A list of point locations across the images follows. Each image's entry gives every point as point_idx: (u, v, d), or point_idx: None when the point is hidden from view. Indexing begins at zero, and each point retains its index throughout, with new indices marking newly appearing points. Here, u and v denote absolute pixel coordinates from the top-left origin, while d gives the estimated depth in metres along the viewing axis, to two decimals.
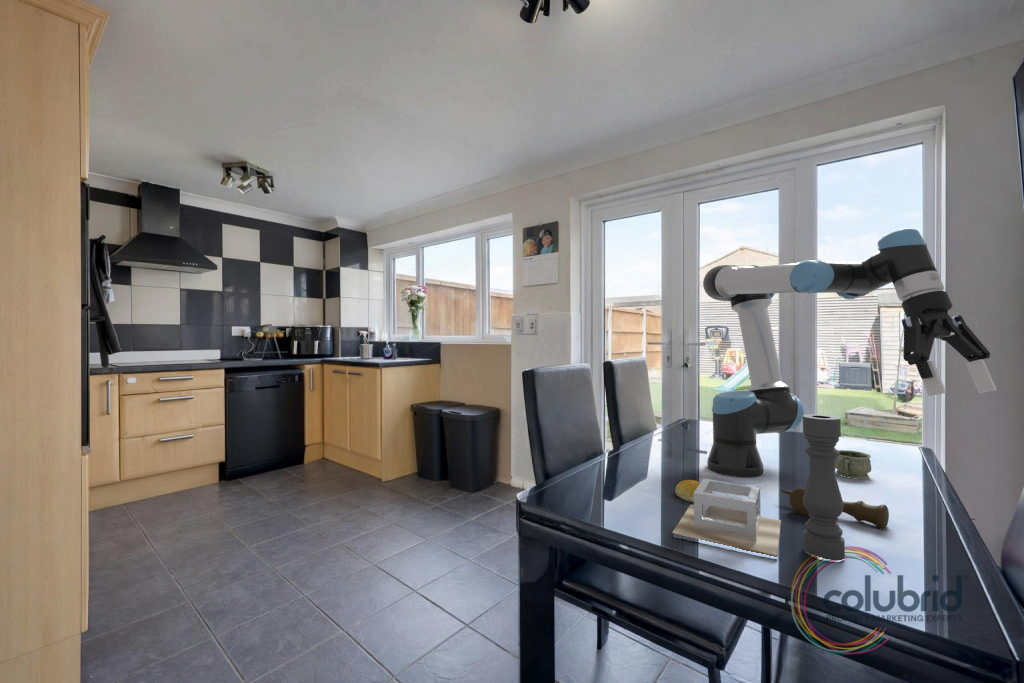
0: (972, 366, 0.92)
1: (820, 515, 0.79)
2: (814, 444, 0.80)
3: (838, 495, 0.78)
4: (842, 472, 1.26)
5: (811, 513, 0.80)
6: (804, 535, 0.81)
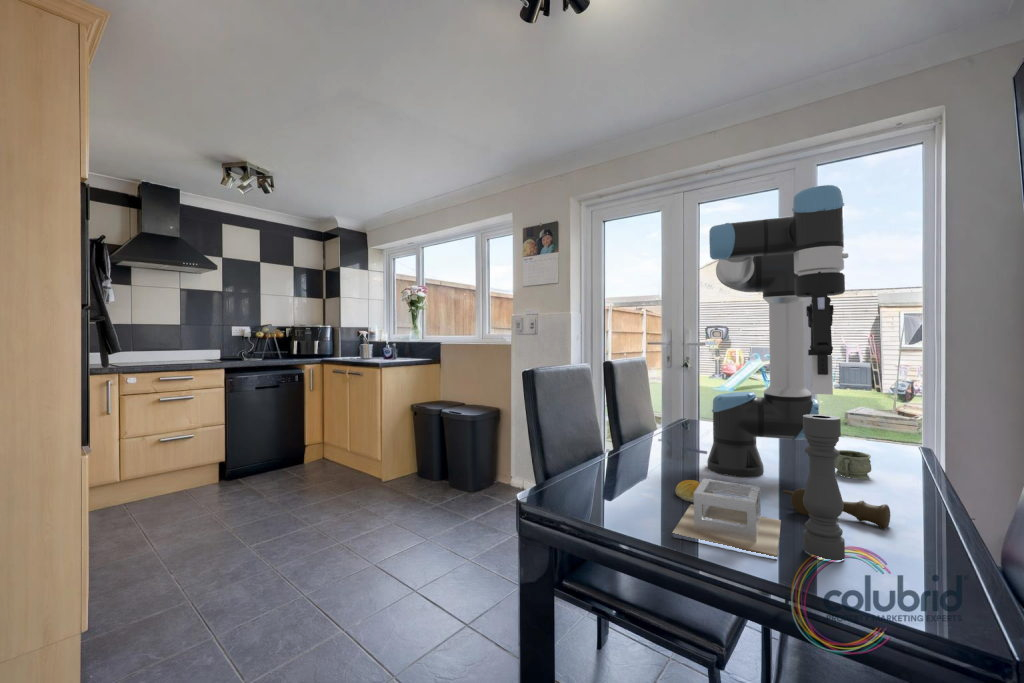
0: None
1: (820, 515, 0.79)
2: (814, 444, 0.80)
3: (838, 495, 0.78)
4: (842, 472, 1.26)
5: (811, 513, 0.80)
6: (804, 535, 0.81)
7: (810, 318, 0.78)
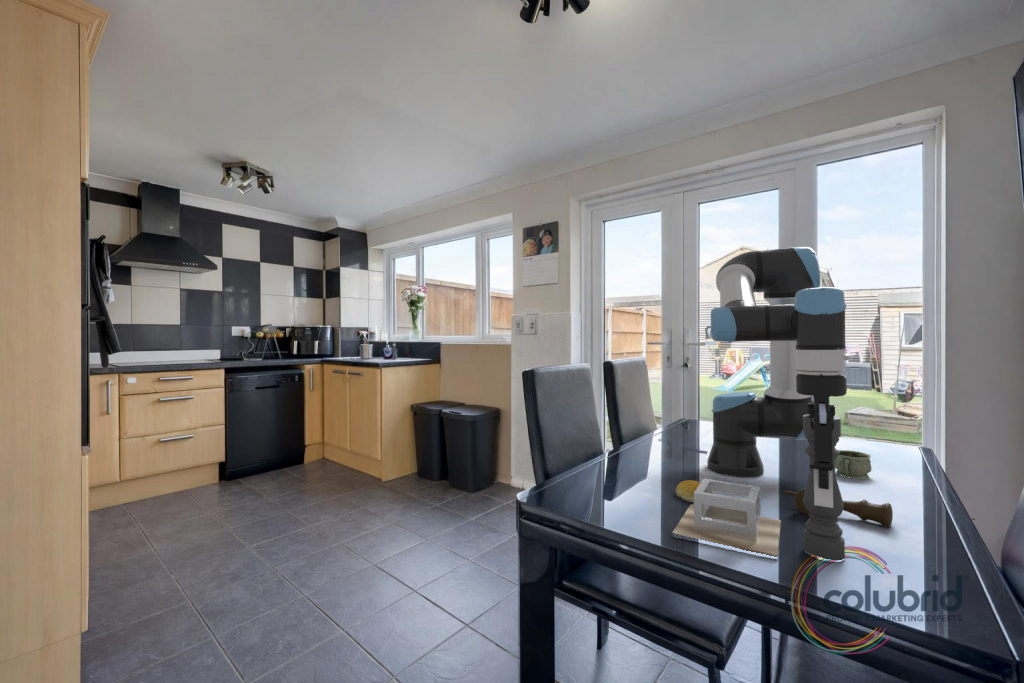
0: None
1: (820, 515, 0.79)
2: None
3: (838, 495, 0.78)
4: (842, 472, 1.26)
5: (811, 513, 0.80)
6: (804, 535, 0.81)
7: (812, 424, 0.79)
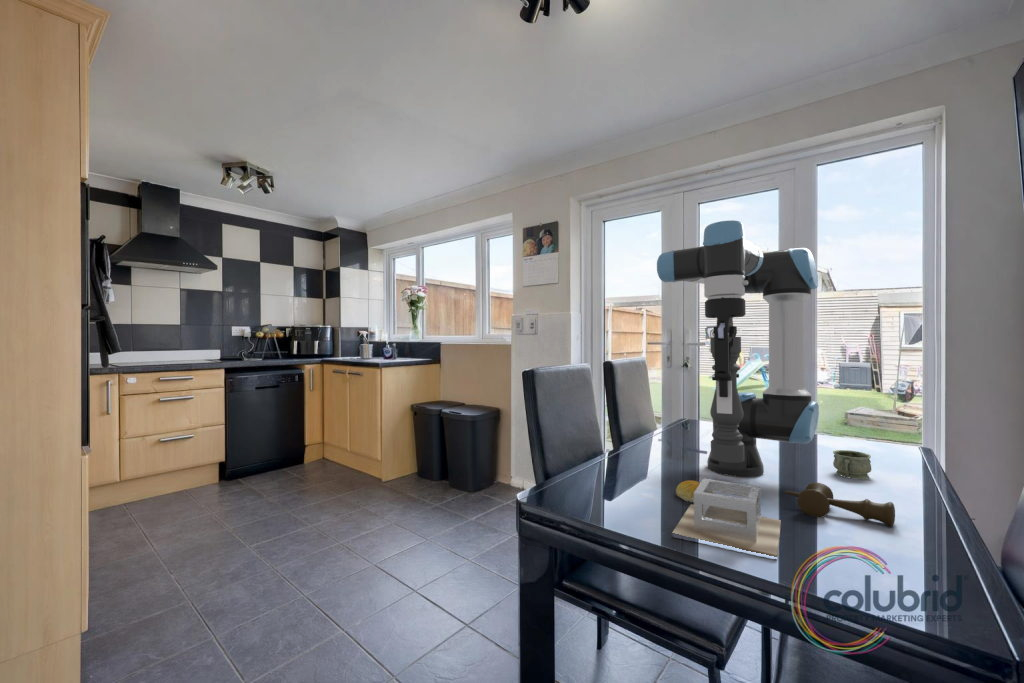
0: None
1: (722, 422, 0.89)
2: None
3: (738, 404, 0.89)
4: (842, 472, 1.26)
5: (716, 422, 0.91)
6: (711, 442, 0.92)
7: None
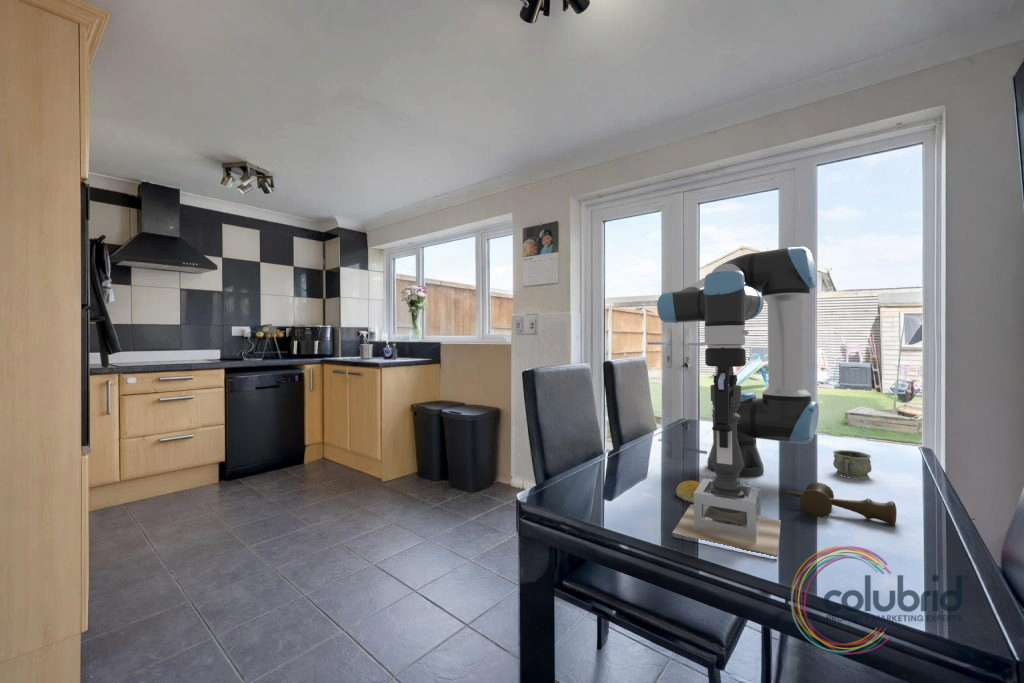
0: None
1: (722, 471, 0.89)
2: None
3: (738, 454, 0.89)
4: (842, 472, 1.26)
5: (716, 471, 0.91)
6: (711, 491, 0.92)
7: None
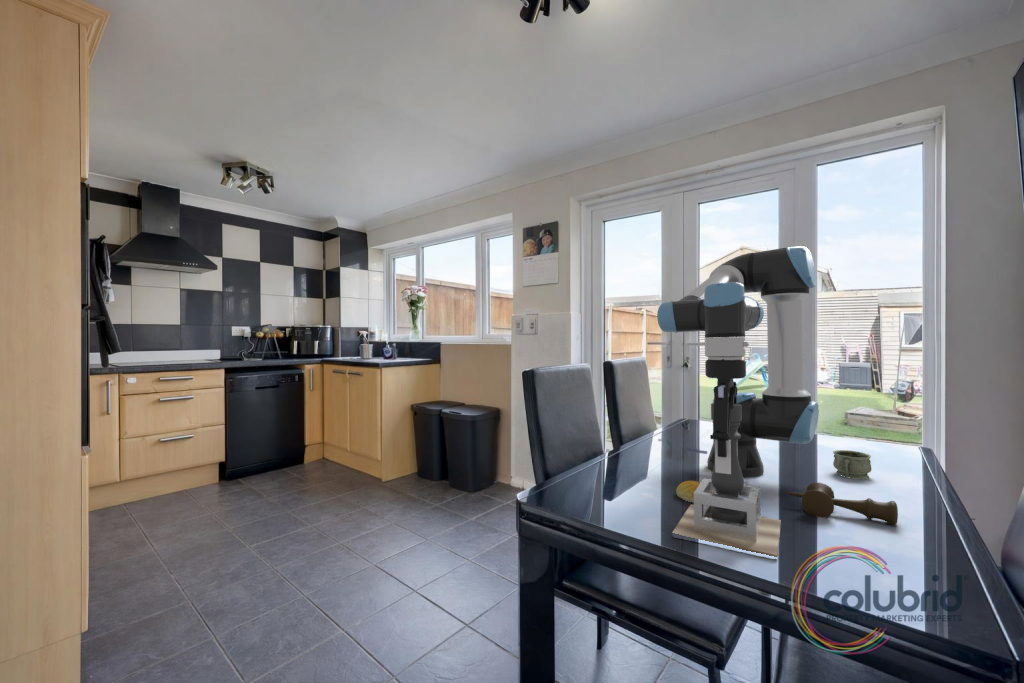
0: None
1: (723, 490, 0.89)
2: None
3: (738, 473, 0.89)
4: (842, 472, 1.26)
5: (716, 489, 0.91)
6: (711, 509, 0.92)
7: None
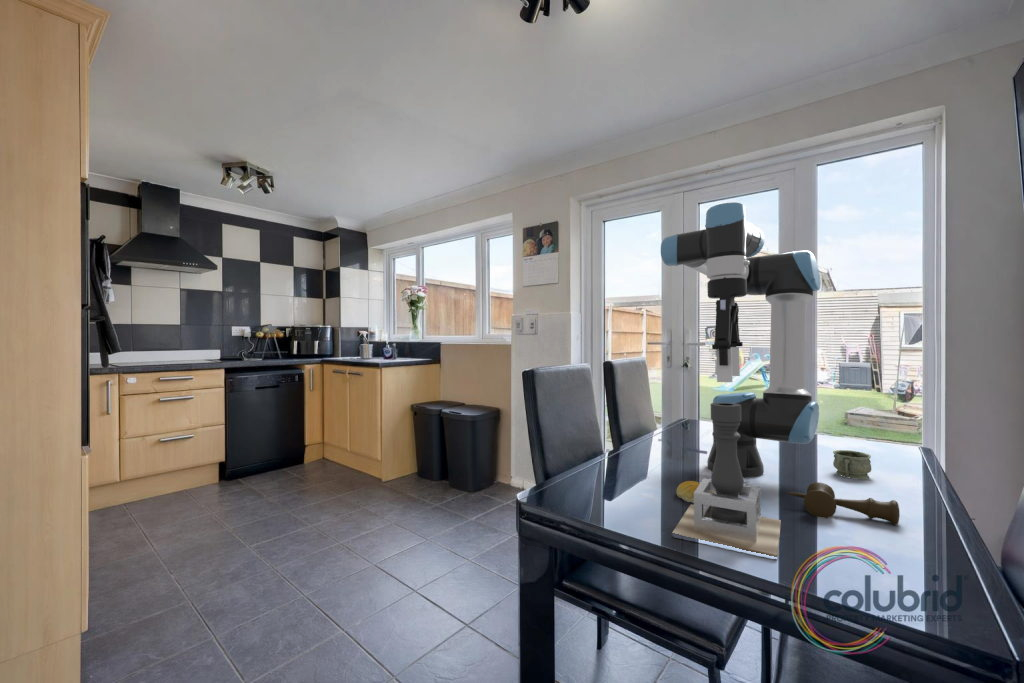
0: None
1: (723, 490, 0.89)
2: (718, 428, 0.90)
3: (738, 473, 0.89)
4: (842, 472, 1.26)
5: (716, 489, 0.91)
6: (711, 509, 0.92)
7: None
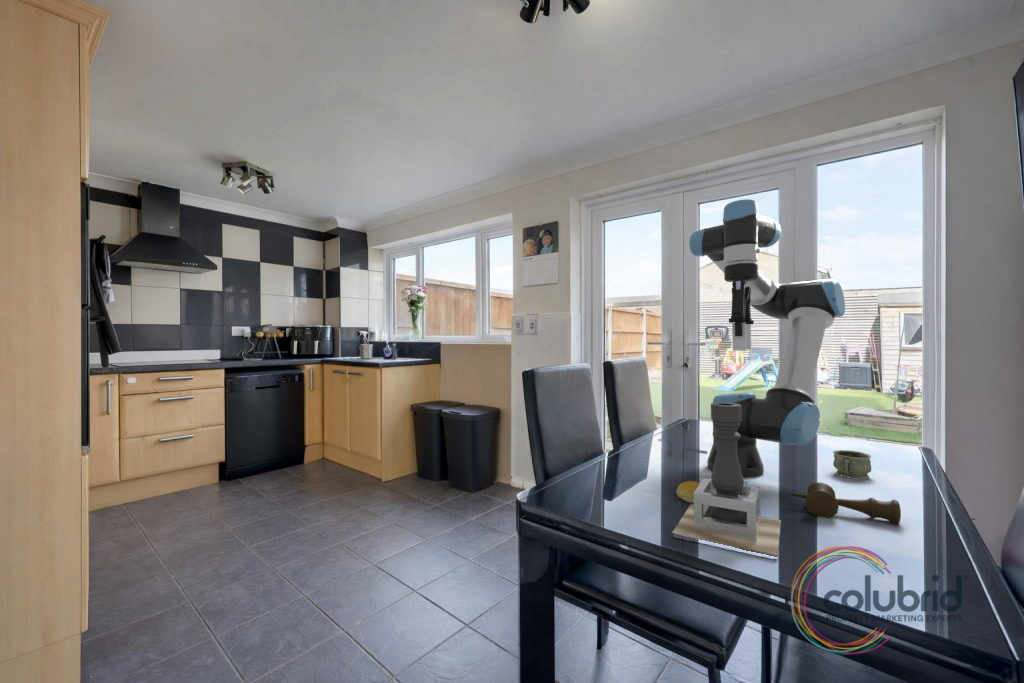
0: None
1: (723, 490, 0.89)
2: (718, 428, 0.90)
3: (738, 473, 0.89)
4: (842, 472, 1.26)
5: (716, 489, 0.91)
6: (711, 509, 0.92)
7: None
